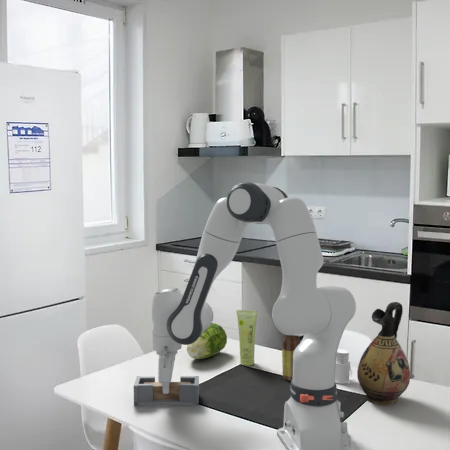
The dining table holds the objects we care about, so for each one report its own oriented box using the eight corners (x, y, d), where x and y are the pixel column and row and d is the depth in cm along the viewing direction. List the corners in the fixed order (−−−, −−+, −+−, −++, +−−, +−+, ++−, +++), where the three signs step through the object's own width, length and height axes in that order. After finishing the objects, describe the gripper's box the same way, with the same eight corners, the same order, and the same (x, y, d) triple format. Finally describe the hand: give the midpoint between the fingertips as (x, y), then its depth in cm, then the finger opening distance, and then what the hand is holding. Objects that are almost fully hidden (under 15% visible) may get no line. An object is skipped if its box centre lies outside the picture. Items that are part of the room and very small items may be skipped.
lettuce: (177, 364, 218) (177, 333, 216) (202, 348, 237) (202, 319, 235) (207, 368, 213) (207, 336, 212) (229, 351, 232) (229, 322, 231)
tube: (243, 367, 215) (243, 312, 212) (236, 362, 219) (236, 309, 217) (256, 364, 217) (257, 310, 215) (249, 360, 222) (250, 307, 220)
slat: (190, 394, 187) (190, 381, 186) (190, 398, 183) (190, 386, 183) (144, 394, 186) (144, 382, 186) (143, 399, 183) (143, 386, 182)
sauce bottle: (301, 375, 206) (302, 317, 204) (301, 382, 200) (302, 322, 198) (281, 374, 207) (282, 317, 205) (281, 381, 201) (282, 322, 199)
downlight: (334, 385, 197) (336, 355, 197) (324, 378, 204) (326, 348, 203) (356, 383, 200) (358, 353, 199) (345, 376, 207) (347, 347, 206)
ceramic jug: (388, 414, 175) (392, 311, 172) (346, 398, 187) (348, 301, 184) (422, 399, 186) (426, 303, 183) (380, 385, 198) (383, 294, 195)
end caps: (198, 394, 189) (198, 376, 188) (198, 405, 181) (198, 385, 180) (137, 395, 189) (136, 376, 188) (133, 405, 181) (133, 385, 180)
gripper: (175, 352, 173) (175, 400, 174) (179, 332, 193) (179, 375, 194) (153, 353, 172) (153, 400, 174) (159, 332, 193) (159, 375, 194)
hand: (167, 386), depth 184 cm, fingers open, 8 cm apart
